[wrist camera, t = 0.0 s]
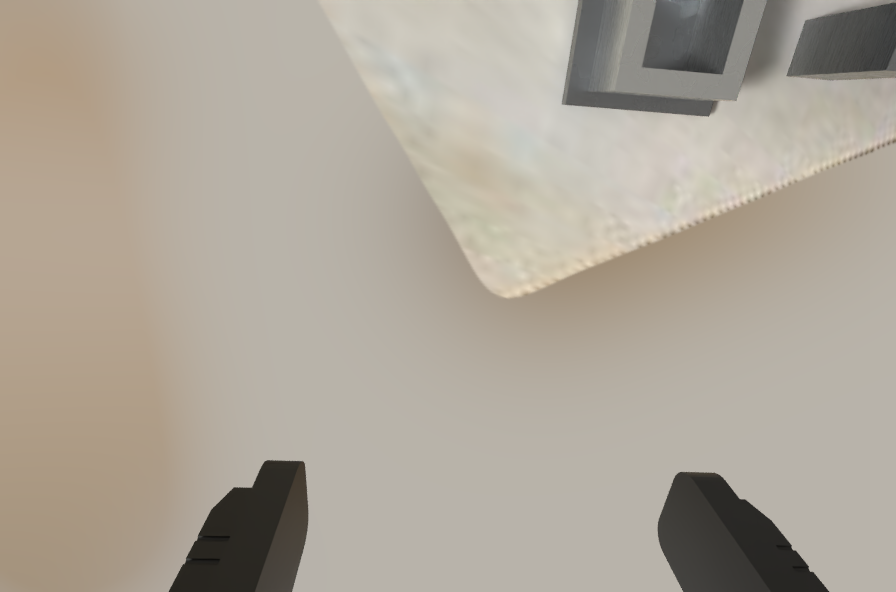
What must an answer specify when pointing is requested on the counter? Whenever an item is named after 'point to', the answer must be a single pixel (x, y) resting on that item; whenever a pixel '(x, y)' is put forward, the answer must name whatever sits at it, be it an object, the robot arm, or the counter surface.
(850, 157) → the counter surface
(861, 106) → the counter surface
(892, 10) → the grey rectangular block
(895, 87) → the counter surface
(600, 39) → the bracket stand
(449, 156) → the counter surface
